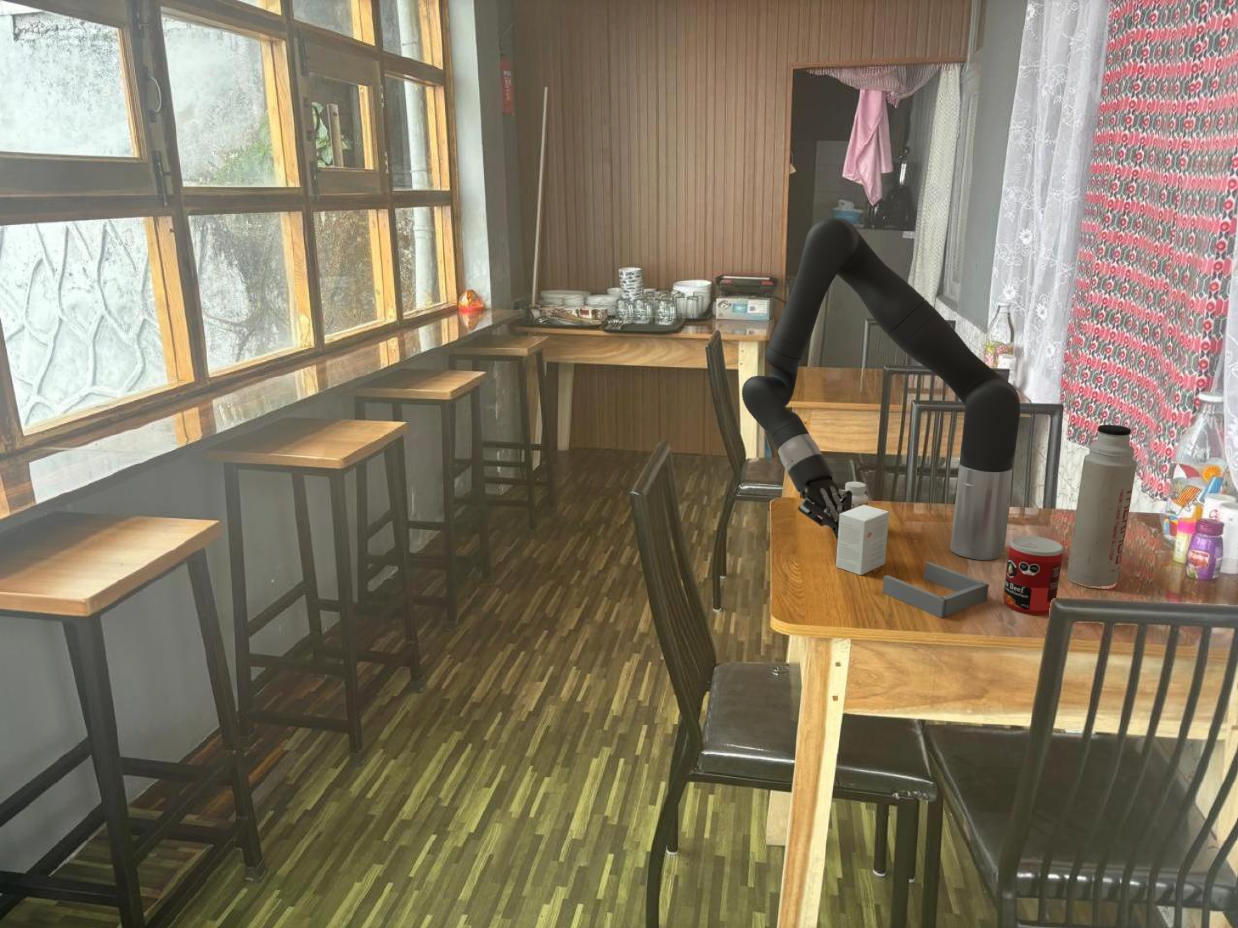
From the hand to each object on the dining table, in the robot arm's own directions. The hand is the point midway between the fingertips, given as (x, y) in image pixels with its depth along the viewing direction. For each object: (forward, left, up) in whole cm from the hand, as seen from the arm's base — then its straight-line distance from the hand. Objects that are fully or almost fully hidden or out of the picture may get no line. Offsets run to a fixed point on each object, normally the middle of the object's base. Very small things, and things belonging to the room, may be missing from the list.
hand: (847, 541), depth 168 cm
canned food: (-10, +31, -4) cm, 33 cm away
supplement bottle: (-14, -11, -4) cm, 18 cm away
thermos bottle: (-29, +31, -4) cm, 42 cm away
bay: (0, +19, -4) cm, 20 cm away
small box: (0, +3, -4) cm, 5 cm away
